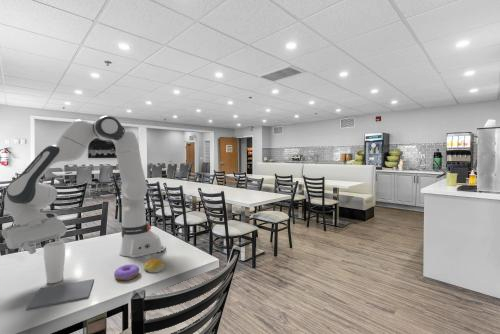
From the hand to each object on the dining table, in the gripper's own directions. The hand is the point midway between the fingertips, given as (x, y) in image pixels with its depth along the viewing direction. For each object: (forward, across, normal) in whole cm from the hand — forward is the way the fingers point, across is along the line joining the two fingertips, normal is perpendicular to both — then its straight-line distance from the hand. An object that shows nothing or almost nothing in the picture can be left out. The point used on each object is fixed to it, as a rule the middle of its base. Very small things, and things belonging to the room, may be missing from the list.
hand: (46, 248), depth 102 cm
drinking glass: (+12, 0, +6) cm, 14 cm away
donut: (+29, +14, -11) cm, 34 cm away
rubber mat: (+21, -5, -4) cm, 22 cm away
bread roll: (+33, +24, -15) cm, 43 cm away
